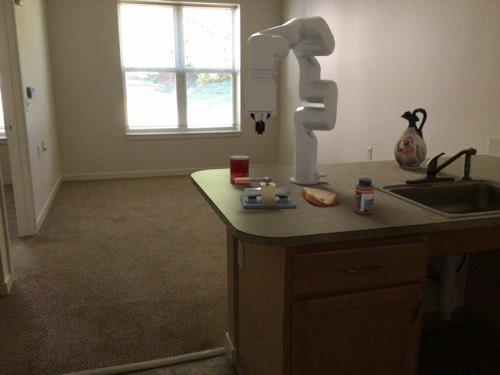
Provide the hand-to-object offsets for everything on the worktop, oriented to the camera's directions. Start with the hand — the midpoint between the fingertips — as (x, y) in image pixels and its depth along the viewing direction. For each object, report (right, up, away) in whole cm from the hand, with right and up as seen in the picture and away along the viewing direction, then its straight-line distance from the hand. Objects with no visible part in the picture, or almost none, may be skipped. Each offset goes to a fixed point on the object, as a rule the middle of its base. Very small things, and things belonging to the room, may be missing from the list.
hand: (259, 133), depth 144 cm
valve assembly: (+3, -23, +13) cm, 26 cm away
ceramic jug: (+78, -8, +80) cm, 112 cm away
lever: (-2, -15, +10) cm, 19 cm away
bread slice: (+21, -22, +19) cm, 36 cm away
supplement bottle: (+34, -26, +3) cm, 43 cm away
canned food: (-8, -15, +43) cm, 47 cm away
